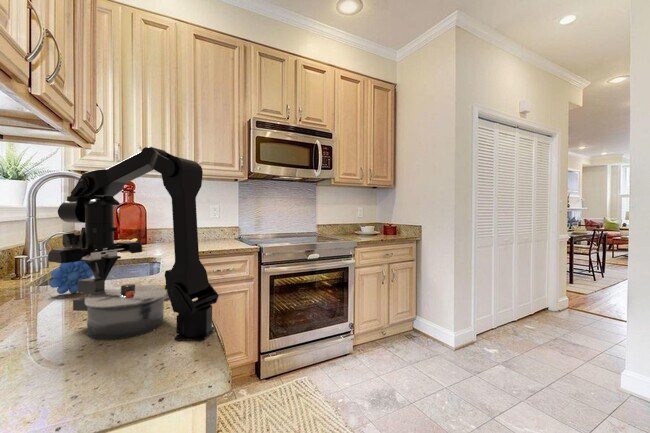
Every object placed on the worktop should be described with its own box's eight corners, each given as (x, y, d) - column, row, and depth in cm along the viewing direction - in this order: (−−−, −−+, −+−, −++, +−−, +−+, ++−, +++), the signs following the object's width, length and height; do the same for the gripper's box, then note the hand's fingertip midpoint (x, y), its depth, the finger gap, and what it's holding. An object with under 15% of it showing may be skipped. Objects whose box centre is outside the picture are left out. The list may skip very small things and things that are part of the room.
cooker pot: (175, 316, 77) (175, 291, 77) (137, 341, 62) (138, 309, 62) (102, 314, 78) (103, 289, 78) (48, 338, 63) (48, 307, 63)
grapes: (95, 287, 104) (96, 254, 103) (96, 292, 98) (96, 256, 98) (50, 293, 96) (50, 256, 96) (48, 298, 91) (49, 259, 91)
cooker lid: (180, 291, 76) (180, 277, 76) (128, 310, 60) (128, 294, 60) (112, 285, 80) (112, 272, 80) (46, 303, 64) (46, 287, 64)
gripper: (116, 221, 85) (117, 274, 86) (33, 224, 68) (35, 290, 69) (143, 222, 81) (144, 278, 82) (62, 225, 64) (63, 296, 64)
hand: (100, 284), depth 74 cm, fingers closed
